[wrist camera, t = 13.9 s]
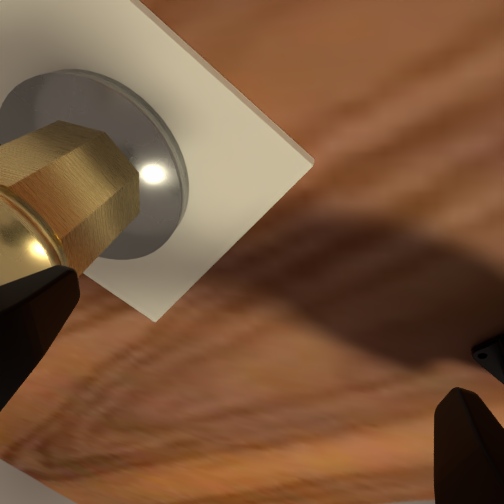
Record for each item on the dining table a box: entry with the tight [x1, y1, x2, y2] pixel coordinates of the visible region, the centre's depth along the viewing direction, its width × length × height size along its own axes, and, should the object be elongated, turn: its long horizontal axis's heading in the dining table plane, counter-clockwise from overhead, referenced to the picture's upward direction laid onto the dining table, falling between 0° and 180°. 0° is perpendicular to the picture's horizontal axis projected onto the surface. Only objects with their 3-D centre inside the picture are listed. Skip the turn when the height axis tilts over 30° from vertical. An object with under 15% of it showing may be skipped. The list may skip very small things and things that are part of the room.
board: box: [0, 0, 315, 322], centre depth 20 cm, size 18×16×1 cm
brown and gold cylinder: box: [0, 120, 140, 286], centre depth 16 cm, size 6×6×7 cm
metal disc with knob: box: [0, 69, 189, 260], centre depth 17 cm, size 10×10×6 cm
